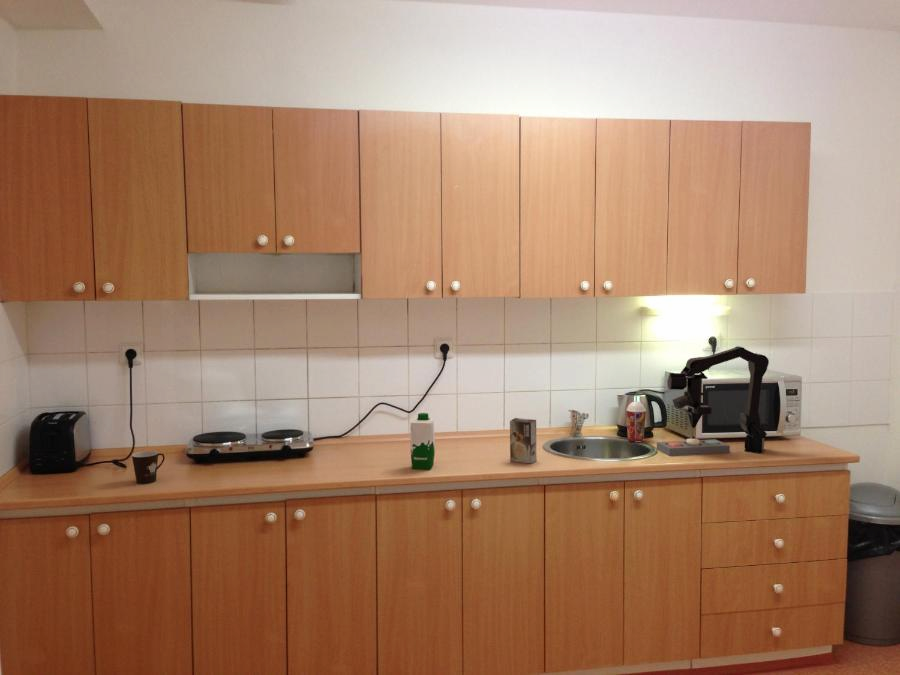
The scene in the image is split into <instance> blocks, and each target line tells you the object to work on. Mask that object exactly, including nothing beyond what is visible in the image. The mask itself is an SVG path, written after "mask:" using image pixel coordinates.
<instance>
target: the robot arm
mask: <svg viewBox="0 0 900 675" xmlns="http://www.w3.org/2000/svg"><path fill="white" fill-rule="evenodd" d="M738 358H740V359H742V360H745V361H746V362H747V367H748V371H749V374H750V375H749V376H750V377H749V382H748V392H747V393H748V394H747V401H746V408H745V411H744V413H743V412H740V414H739V415H740V416H739V417H740V418H739V421H738V423H740V427H741V429H743V431H744V433H745V434H746V435H745V438H744V450H743V451H744V452H747V453H748V452H750V453H757V454H762V453H764V452H765V451H766V449H765V439H766V437H767V435H768V433H767V431H765V430H764V429H763V428H762V422H761V418H760V417H761V416H760V412H759V410H760V402H761V395H762V394H761V392H762V386H763V378H764V375H765V374H766V372H767V370H768V366H769V364H770V363H769V362H770V361H769V357H768V356H766V355H764V354H761V353H757V352H752V351H750V350H748V349H746V348H745V347H743V346H738V345H737V346H735V347H733V348H729V349H726V350H723V351H720V352H717V353H714V354H711V355H707V356H698V357H691V358H689V359H687V360H686V363H685V366H684V368H683V369H682V370H681V371H680V372H677V373H676V372H669V373H668V378H667V381H666V382H667V383H666V385H667V389H668V390H670V391H671V390H673V391H674V390H677V391H679V390H684V393H683V395H680V396H679V397H676V398H674V399H672V402H673V406H674V408H676V409H677V410H682V409H683V411H684V412H685V413H686V414H687V416H688V419H689V423H690V425H691V426H690V427H691V428H693V429H694V428H696V427H697V425H698V422H699V421H700V419H701V418H702V416H703V415H712V414H713V408H712V407H711V406H710V405H706V404H705V403H704V402H702V400H703V399H702V396H704V395H705V393H704V392H703V389H702V388H703V380H708V377H707V375H705V373H704V372H705V371H707V370H708V369H710V368H711V367H714V366H717V365H719V364H723V363H726V362H729V361H733V360H735V359H738ZM685 388H686V390H685ZM704 404H705V405H704Z"/></svg>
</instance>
